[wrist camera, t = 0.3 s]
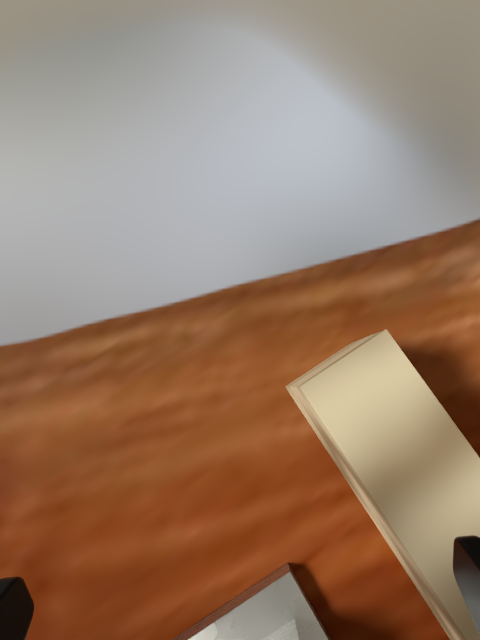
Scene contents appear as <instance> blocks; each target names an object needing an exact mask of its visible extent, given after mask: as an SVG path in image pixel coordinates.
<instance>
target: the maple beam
mask: <svg viewBox="0 0 480 640" xmlns="http://www.w3.org/2000/svg"><path fill="white" fill-rule="evenodd" d="M285 387H286V389H287V390H288V392H289V393H290V395H291V396H292V398H293V399H294V401H295V402H296V404H297V406H298V407H299V409H300V410H301V412H302V413H303V415H304V416H305V418H306V419H307V421H308V422H309V424H310V425H311V427H312V428H313V430H314V432H315V433H316V435H317V436H318V438H319V439H320V441H321V442H322V444H323V445H324V447H325V448H326V450H327V451H328V453H329V454H330V456H331V458H332V459H333V461H334V462H335V464H336V465H337V467H338V468H339V470H340V471H341V473H342V474H343V476H344V477H345V479H346V480H347V482H348V484H349V485H350V487H351V488H352V490H353V491H354V493H355V494H356V496H357V497H358V499H359V500H360V502H361V503H362V505H363V506H364V508H365V510H366V511H367V513H368V514H369V516H370V517H371V519H372V520H373V522H374V523H375V525H376V526H377V528H378V529H379V531H380V532H381V534H382V536H383V537H384V539H385V540H386V542H387V543H388V545H389V546H390V548H391V549H392V551H393V552H394V554H395V555H396V557H397V558H398V560H399V562H400V563H401V565H402V566H403V568H404V569H405V571H406V572H407V574H408V575H409V577H410V578H411V580H412V581H413V583H414V584H415V586H416V588H417V589H418V591H419V592H420V594H421V595H422V597H423V598H424V600H425V601H426V603H427V604H428V606H429V607H430V609H431V610H432V612H433V614H434V615H435V617H436V618H437V620H438V621H439V623H440V624H441V626H442V627H443V629H444V630H445V632H446V633H447V635H448V636H449V638H450V640H480V636H479V633H478V631H477V629H476V626H475V624H474V622H473V619H472V617H471V615H470V612H469V610H468V608H467V605H466V603H465V601H464V598H463V596H462V594H461V591H460V589H459V587H458V584H457V582H456V579H455V576H454V572H453V546H454V539H455V538H456V537H459V536H470V535H474V536H478V537H480V458H479V456H478V455H477V454H476V452H475V451H474V449H473V448H472V447H471V445H470V444H469V443H468V441H467V440H466V438H465V437H464V436H463V434H462V433H461V431H460V430H459V429H458V427H457V426H456V425H455V423H454V422H453V420H452V419H451V418H450V416H449V415H448V414H447V412H446V411H445V409H444V408H443V407H442V405H441V404H440V403H439V401H438V400H437V398H436V397H435V396H434V394H433V393H432V391H431V390H430V389H429V387H428V386H427V385H426V383H425V382H424V380H423V379H422V378H421V376H420V375H419V374H418V372H417V371H416V369H415V368H414V367H413V365H412V364H411V362H410V361H409V360H408V358H407V357H406V356H405V354H404V353H403V351H402V350H401V349H400V347H399V346H398V345H397V343H396V342H395V340H394V339H393V338H392V336H391V335H390V333H389V332H388V331H387V329H386V330H383V331H381V332H378V333H376V334H373V335H370V336H368V337H365V338H363V339H360V340H358V341H355V342H353V343H350V344H349V345H347V346H346V347H344V348H343V349H341V350H340V351H338V352H337V353H335V354H334V355H332V356H331V357H329V358H328V359H326V360H325V361H323V362H322V363H320V364H319V365H317V366H316V367H314V368H313V369H311V370H310V371H308V372H307V373H305V374H304V375H302V376H301V377H299V378H298V379H296V380H294V381H293V382H291V383H290V384H288V385H287V386H285Z"/></svg>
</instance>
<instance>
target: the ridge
mask: <svg viewBox="0 0 480 640" xmlns="http://www.w3.org/2000/svg"><path fill="white" fill-rule="evenodd" d="M172 640H331V639H330V637H329V635H328V633H327V632H326V630H325V628H324V626H323V625H322V623H321V621H320V619H319V617H318V616H317V614H316V612H315V610H314V609H313V607H312V605H311V603H310V601H309V600H308V598H307V596H306V594H305V593H304V591H303V589H302V587H301V585H300V584H299V582H298V580H297V578H296V576H295V575H294V573H293V571H292V569H291V568H290V566H289V564H288V563H287V564H285V565H284V566H282V567H281V568H279V569H278V570H276V571H275V572H273V573H272V574H270V575H269V576H267V577H266V578H264V579H263V580H261V581H260V582H258V583H257V584H255V585H254V586H252V587H251V588H249V589H248V590H246V591H245V592H243V593H242V594H240V595H239V596H237V597H236V598H234V599H233V600H231V601H230V602H228V603H227V604H225V605H224V606H222V607H221V608H219V609H218V610H216V611H215V612H213V613H211V614H210V615H208V616H207V617H205V618H204V619H202V620H201V621H199V622H198V623H196V624H195V625H193V626H192V627H190V628H189V629H187V630H186V631H184V632H183V633H181V634H180V635H178V636H177V637H175V638H174V639H172Z"/></svg>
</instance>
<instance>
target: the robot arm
mask: <svg viewBox="0 0 480 640" xmlns="http://www.w3.org/2000/svg"><path fill="white" fill-rule="evenodd" d="M453 572H454V576H455V579H456V582H457V584H458V587H459V589H460V591H461V594H462V596H463V598H464V601H465V603H466V605H467V608H468V610H469V612H470V615H471V617H472V619H473V622H474V624H475V626H476V629H477V631H478V633H479V636H480V537H478V536H474V535H470V536H459V537H456V538H455V539H454V546H453ZM33 612H34V603H33V600H32V598H31V595H30V593H29V591H28V589H27V586H26V584H25V582H24V580H23V579H22V578H21V577H9V578H3V579H0V640H25V638H26V635H27V632H28V629H29V626H30V623H31V620H32V616H33Z"/></svg>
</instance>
